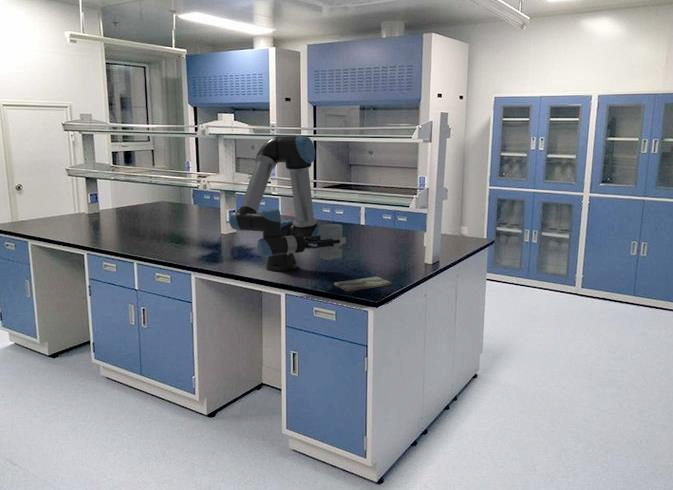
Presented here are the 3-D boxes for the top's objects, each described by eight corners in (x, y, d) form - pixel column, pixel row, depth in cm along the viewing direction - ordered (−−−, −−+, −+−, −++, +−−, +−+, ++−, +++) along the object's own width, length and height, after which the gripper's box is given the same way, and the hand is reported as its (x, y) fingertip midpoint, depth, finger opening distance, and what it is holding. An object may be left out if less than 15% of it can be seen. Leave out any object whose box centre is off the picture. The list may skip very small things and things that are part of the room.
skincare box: (327, 260, 238) (327, 226, 235) (319, 257, 243) (319, 224, 240) (342, 257, 243) (343, 224, 239) (335, 255, 248) (335, 222, 244)
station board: (333, 284, 239) (333, 282, 239) (376, 278, 249) (376, 276, 249) (347, 291, 229) (347, 289, 228) (391, 284, 239) (391, 282, 238)
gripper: (285, 248, 242) (331, 243, 253) (303, 257, 225) (352, 251, 236) (284, 231, 240) (331, 227, 251) (303, 239, 224) (352, 234, 235)
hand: (341, 238), depth 244 cm, fingers closed on skincare box, 6 cm apart
